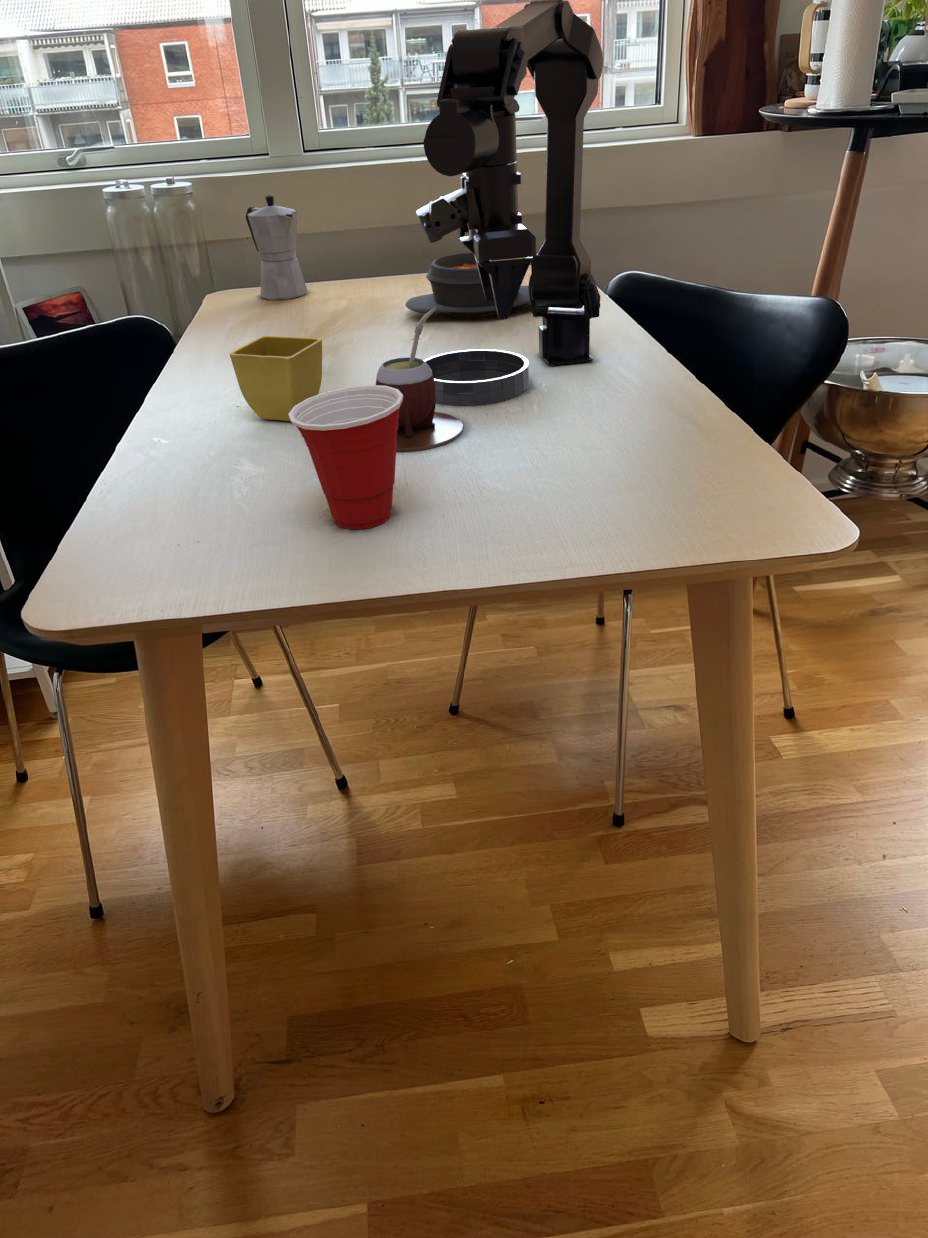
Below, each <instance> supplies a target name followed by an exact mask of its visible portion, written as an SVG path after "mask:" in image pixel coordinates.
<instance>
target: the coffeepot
mask: <svg viewBox="0 0 928 1238" xmlns="http://www.w3.org/2000/svg"><path fill="white" fill-rule="evenodd" d="M264 198H265V201H266V204H267V206H264V207H255V206H249V207H248V208H247V210H246V213H245V221H246V224H247V227H248V229H249V232H250V235H251V238H252V241H253V244H254V245H255V249H256V251H257V252H259V253H260V258H261V261H260V296H261V297H262V299H264V300H271V301H279V300H289V299H296V298H300V297H302V296H305V295H306V294H307V293H308V288H307V286H306V282H305V278H304V274H303V272H302V268H301V265H300V262H299V259H298V258H297V254H296V253H297V252H296V249H297V248H298V220H297V219H298V218H297V217H298V214H297V213H298V212H297V210H295V209H293V208H289V207H284V206H279V205H274V204H275V196H274V195H271V194H269V195H266V196H264Z"/></svg>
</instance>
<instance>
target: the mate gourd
mask: <svg viewBox="0 0 928 1238" xmlns="http://www.w3.org/2000/svg"><path fill="white" fill-rule="evenodd" d="M436 309H437V307H434V308H433V309H432V310H430V311H429V312H428V313H424V314H423V315H422V317H421V319H420V320H419V321H418V323H416V325H415V328H414V331H413V332H414V338H413V343H412V347H411V350H410V351H411V352H410V356H407V357H397V358H392V359H389V360H386V361H384V362H383V363H381V364H380V366H379V368H378V370H377V372H376V376H375V385H380V386H388V387H392V388H395V389H398V390H399V391H400V392H401V393H402V395H403V401H402V403H401V405H400V410H399V418H398V430H397V431H405V434H406V438H412V437H413V430H422V429H434V428H435V423H433V417H434V412H436V406H437V405H436V404H437V403H436V396H435V382H434V377H433V374H432V370H431V368H430V367H429V365H428V364H427V363H426V362H425V361H424V360H425V359H422V358H418V357H416V355H417V351H418V344H419V340H420V336H421V335H422V332H423V329H424V324H425V322H426V321H427V320H428V318H430V316H431V315H433V314H434V313H433V312H434V311H435V310H436Z"/></svg>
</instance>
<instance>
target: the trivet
mask: <svg viewBox="0 0 928 1238" xmlns="http://www.w3.org/2000/svg"><path fill="white" fill-rule="evenodd" d="M433 423H435V428H434V429H422V430H413V437H412V438H406V434H405V431H397V444H396V453H409V452H418V451H419V452H420V451H425V450H429V449H434V448H438V447H441V446H444V445H447V444H449V443H451V442H453V441H455V440H456V439H458V438H459V437H460V436H461V435H462V433H463V432H464V424H463V423H462V421H461V420H460V418H458V417H456V416H453V415H451V414H449V413H444V412H440V411H439V412H438V411H435V412H434V417H433Z"/></svg>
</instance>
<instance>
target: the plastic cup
mask: <svg viewBox="0 0 928 1238" xmlns="http://www.w3.org/2000/svg"><path fill="white" fill-rule="evenodd" d="M402 401H403V395H402V393H401V392H400V391H399V390H398V389H395V388H392V387H388V386H380V385H376V384H374V385H373V384H364V385H354V386H353V385H352V386H346V387H341V388H337V389H331V390H328V391H325V392H322V393H318V395H316V396H313V397H310V398H307V399H306V400H304V401H302V402H301V403H299V404H297V405H296V406H294V407H293V409H292V410H291V411H290V412H289V414H288V415H289V417H290V420H291V421H290V422H291V423H292V425H293V426H295V427H296V428H297V429H298V431H299V433H300V435H301V437H302V438H303V440H304V443H305V445H306V447H307V450H308V452H309V455H310V457H311V460H312V461H311V462H312V464H313V466H314V469H315V473H316V475H317V478H318V481H319V483H320V486H321V490H322V493H323V495H324V496H325V499H326V502H327V505H328V509H329V512H330V515H331V517H332V519H333V520H334V523H335V525H337V526H339V527H340V528H344V529H349V530H365V529H370V528H374V527H377V526H380V525H383V524H384V523H386V522H387V521H388V520H389V519H390V517H391V515H392V509H393V502H394V501H393V500H394V499H393V498H394V485H395V482H396V481H395V480H396V463H397V462H396V461H397V452H396V444H397V430H398V418H399V410H400V405H401V403H402Z"/></svg>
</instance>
